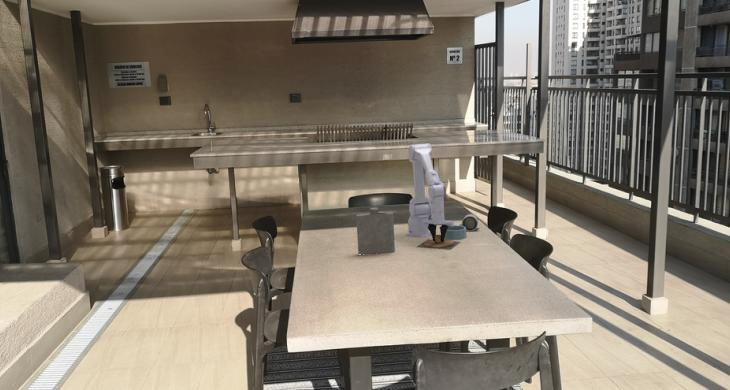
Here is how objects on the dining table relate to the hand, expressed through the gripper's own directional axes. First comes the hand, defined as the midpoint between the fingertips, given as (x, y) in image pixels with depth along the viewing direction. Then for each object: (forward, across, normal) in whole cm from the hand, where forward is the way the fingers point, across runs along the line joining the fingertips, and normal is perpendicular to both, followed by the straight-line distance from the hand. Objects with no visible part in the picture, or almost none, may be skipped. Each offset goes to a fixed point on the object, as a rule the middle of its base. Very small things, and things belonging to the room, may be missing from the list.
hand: (438, 241), depth 267 cm
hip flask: (+2, -21, -20) cm, 29 cm away
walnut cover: (+2, 0, 0) cm, 2 cm away
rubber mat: (+2, 0, 0) cm, 2 cm away
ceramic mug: (+2, +3, +32) cm, 32 cm away
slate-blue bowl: (+2, +2, +15) cm, 15 cm away
